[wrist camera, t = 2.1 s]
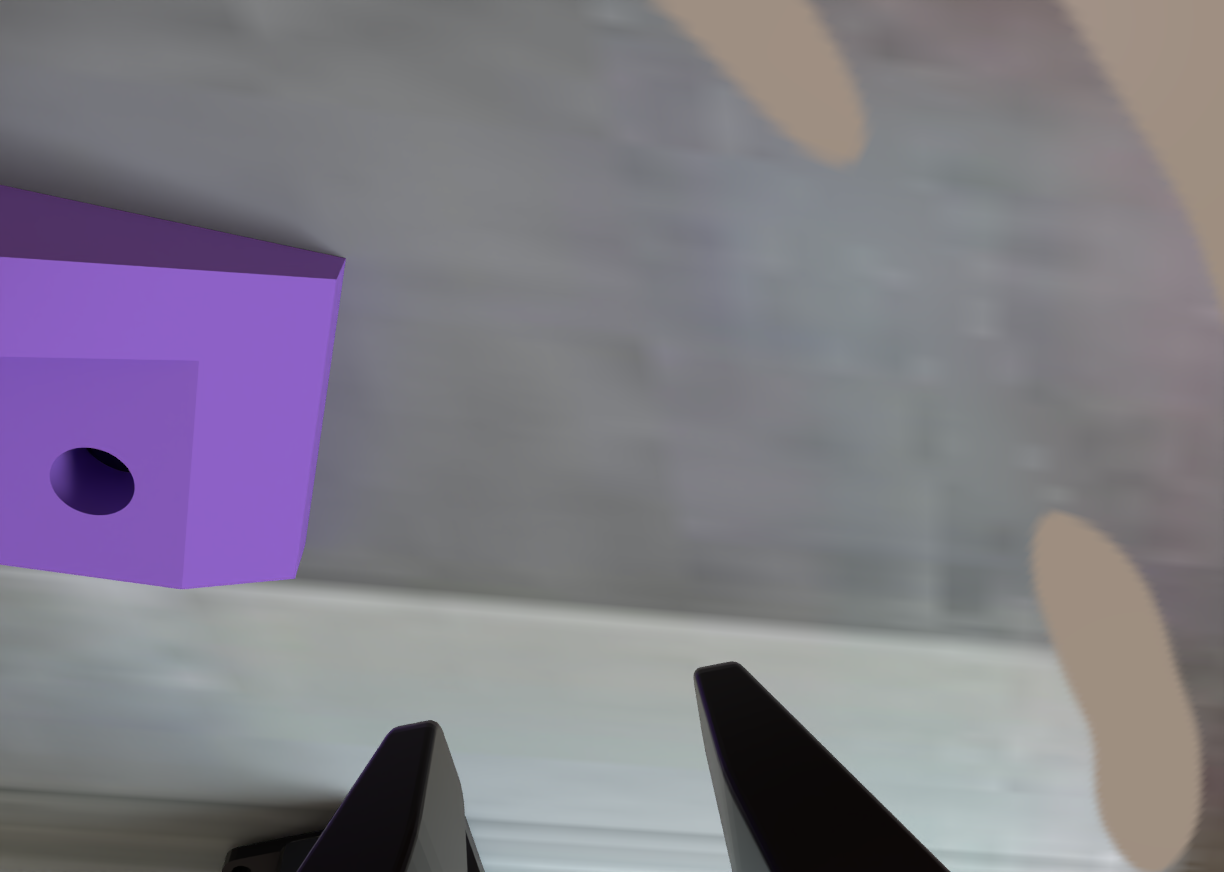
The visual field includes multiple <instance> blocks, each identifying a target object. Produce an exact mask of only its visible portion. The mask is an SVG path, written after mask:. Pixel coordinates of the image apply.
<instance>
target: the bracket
mask: <svg viewBox="0 0 1224 872" xmlns="http://www.w3.org/2000/svg"><path fill="white" fill-rule="evenodd" d="M345 260H346V258H341V257H337V256H332V255H327V254H323V253H318V252H313V251H309V250H304V249H299V248H294V247H290V246H285V245H280V244H276V243H271V242H266V241H262V240H257V239H252V238H248V237H243V236H238V235H233V234H229V233H224V232H219V231H215V230H210V229H205V228H201V227H196V226H191V225H186V224H182V223H177V222H172V221H168V220H163V219H158V218H154V217H149V216H144V215H140V214H135V213H130V212H125V211H121V210H116V209H111V208H107V207H102V206H97V205H93V204H88V203H83V202H78V201H74V200H69V199H64V198H60V197H55V196H50V195H46V194H41V193H36V192H32V191H27V190H22V189H17V188H13V187H8V186H3V185H0V564H1V565H8V566H16V567H23V568H30V569H37V570H45V571H52V572H59V573H67V574H74V575H81V576H89V577H96V578H103V579H111V580H118V581H125V582H133V583H140V584H147V585H154V586H162V587H169V588H176V589H190V588H200V587H211V586H221V585H232V584H242V583H253V582H263V581H274V580H284V579H295V576H296V573H297V570H298V566H299V563H300V560H301V557H302V553H303V550H304V547H305V540H306V533H307V526H308V519H309V512H310V505H311V498H312V491H313V484H314V477H315V470H316V463H317V456H318V449H319V442H320V435H321V428H322V421H323V414H324V407H325V400H326V393H327V386H328V379H329V372H330V365H331V358H332V351H333V344H334V337H335V330H336V323H337V316H338V309H339V302H340V295H341V288H342V281H343V274H344V267H345ZM86 448H95V449H99V450H102V451H105V452H108V453H110V454H112V455H113V456H115V457H116V458H118V459H119V460H120V461H122V462H123V463H124V464H125V465H126V467H127V468H128V469H129V471H130V472H131V473H129V472H124V471H120V470H117V469H114V468H111V467H109V466H107V465H105V464H103V463H102V462H100V461H99V460H97V459H96V458H95V457H93V456H92V455H91V454H90V453H89V452H88V451H87V449H86Z"/></svg>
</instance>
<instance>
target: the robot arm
mask: <svg viewBox="0 0 1224 872" xmlns="http://www.w3.org/2000/svg"><path fill="white" fill-rule="evenodd" d="M694 685H695V692H696V698H697V704H698V711H699V717H700V723H701V729H702V736H703V741H704V746H705V751H706V756H707V761H708V765H709V770H710V774H711V779H712V783H713V788H714V792H715V796H716V801H717V805H718V810H719V814H720V819H721V823H722V828H723V832H724V837H725V841H726V846H727V850H728V855H729V859H730V863H731V868H732V872H950V871H949V870H948V869H947V868H946V867H945V866H944V865H943V864H942V863H941V862H940V861H939V860H938V859H937V858H936V857H935V856H934V855H933V854H932V853H931V852H930V851H929V850H928V849H927V848H926V847H925V846H924V845H923V844H922V843H921V842H920V841H919V840H918V839H917V838H916V837H915V836H914V835H913V834H912V833H911V832H910V831H909V830H908V829H907V828H906V827H905V826H904V825H903V824H902V823H901V822H900V821H899V820H898V819H897V818H896V817H895V816H894V815H893V814H892V813H891V812H890V811H888V810H887V809H886V808H885V807H884V806H883V805H882V804H881V803H880V802H879V801H878V800H877V799H876V798H875V797H874V796H873V795H872V794H871V793H870V792H869V791H868V790H867V789H866V788H865V787H864V786H863V785H862V784H861V783H860V782H859V781H858V780H857V779H856V778H855V777H854V776H853V775H852V774H851V773H850V772H849V771H848V770H847V769H846V768H845V767H844V766H843V765H842V764H841V763H840V762H839V761H838V760H837V759H836V758H835V757H834V756H833V755H832V754H831V753H830V752H829V751H828V750H827V749H826V748H825V747H824V746H823V745H822V744H821V743H820V742H819V741H818V740H817V739H816V738H815V737H814V736H813V735H812V734H811V733H810V732H809V731H808V730H807V729H806V728H805V727H804V726H803V725H802V724H801V723H800V722H799V721H798V720H797V719H796V718H795V717H794V716H793V715H791V714H790V713H789V712H788V711H787V710H786V709H785V708H784V707H783V706H782V705H781V704H780V703H779V702H778V701H777V700H776V699H775V698H774V697H773V696H772V695H771V694H770V693H769V692H768V691H767V690H766V689H765V688H764V687H763V686H762V685H761V684H760V683H759V682H758V681H757V680H756V679H755V678H754V677H753V676H752V675H751V674H750V673H749V672H748V671H747V670H746V669H745V668H744V667H743V666H742V665H740V664H739V663H737V662H726V663H721V664H716V665H710V666H705V667H700V668H698V669H697V670H696V671H695V673H694ZM222 872H485V871H484V868H483V866H482V863H481V860H480V857H479V854H478V851H477V848H476V845H475V843H474V840H473V837H472V834H471V831H470V828H469V825H468V823H467V820H466V817H465V812H464V800H463V793H462V788H461V784H460V780H459V777H458V774H457V771H456V768H455V765H454V762H453V759H452V757H451V754H450V751H449V748H448V745H447V742H446V739H445V736H444V733H443V731H442V728H441V727H440V725H439V724H438V723H437V722H435V721H432V720H428V721H423V722H418V723H413V724H408V725H403V726H398V727H395V728H393V729H392V730H391V731H390V732H389V733H388V734H387V736H386V737H385V739H384V740H383V742H382V743H381V745H380V746H379V748H378V749H377V751H376V752H375V754H374V755H373V757H372V758H371V760H370V761H369V763H368V764H367V766H366V767H365V769H364V770H363V772H362V773H361V775H360V776H359V778H358V779H357V781H356V782H355V784H354V785H353V787H352V788H351V790H350V791H349V793H348V794H347V796H346V798H345V799H344V801H343V802H342V804H341V805H340V807H339V808H338V810H337V811H336V813H335V814H334V816H333V817H332V819H331V820H330V822H329V823H328V825H327V826H326V828H325V829H324V830H323V831H318V832H313V833H308V834H303V835H298V836H292V837H287V838H282V839H277V840H272V841H267V842H262V843H257V844H252V845H247V846H242V847H238V848H235V849H232V850H231V851H230V852H228V853H227V856H226V858H225V862H224V865H223V868H222Z"/></svg>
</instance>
